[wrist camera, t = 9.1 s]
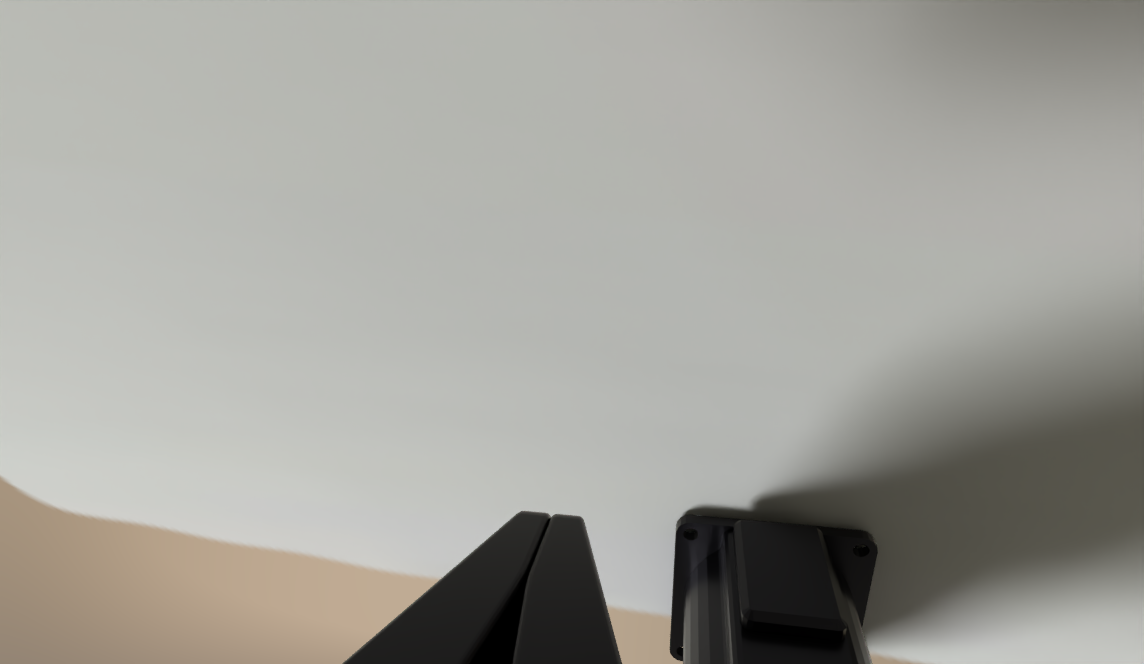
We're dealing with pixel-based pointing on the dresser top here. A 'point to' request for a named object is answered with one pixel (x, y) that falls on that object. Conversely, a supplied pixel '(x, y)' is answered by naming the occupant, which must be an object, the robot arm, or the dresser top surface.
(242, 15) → the dresser top surface
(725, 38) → the dresser top surface
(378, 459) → the dresser top surface
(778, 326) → the dresser top surface
